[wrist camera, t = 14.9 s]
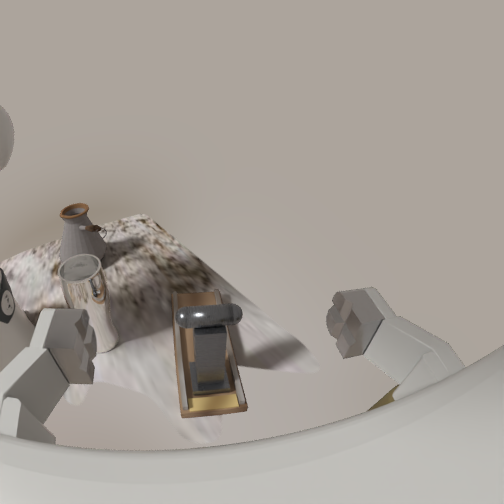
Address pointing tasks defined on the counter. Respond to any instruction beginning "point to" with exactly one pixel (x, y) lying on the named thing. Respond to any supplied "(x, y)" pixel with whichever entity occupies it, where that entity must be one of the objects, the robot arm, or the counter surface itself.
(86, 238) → the coffee pot
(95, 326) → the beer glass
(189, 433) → the counter surface
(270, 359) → the counter surface
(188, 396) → the track
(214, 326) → the handle
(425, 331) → the robot arm
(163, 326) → the counter surface
